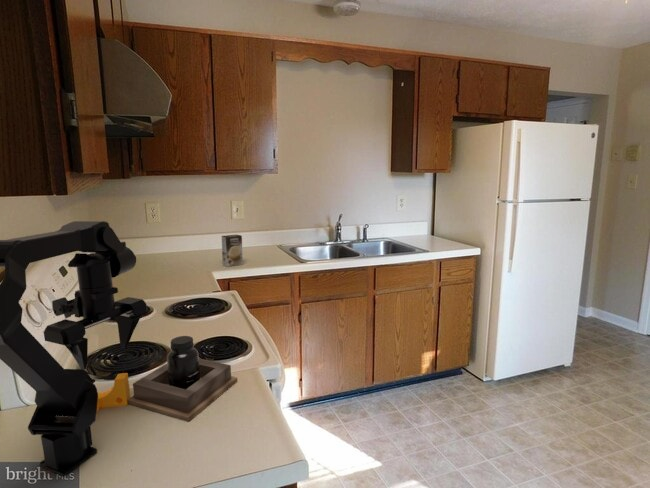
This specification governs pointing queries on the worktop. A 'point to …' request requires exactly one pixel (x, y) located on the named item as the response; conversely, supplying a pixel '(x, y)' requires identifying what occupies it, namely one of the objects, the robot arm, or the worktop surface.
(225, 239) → the coffee box
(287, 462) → the worktop surface
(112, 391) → the orange notched part
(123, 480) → the worktop surface
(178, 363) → the supplement bottle
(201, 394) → the grey-brown square frame
